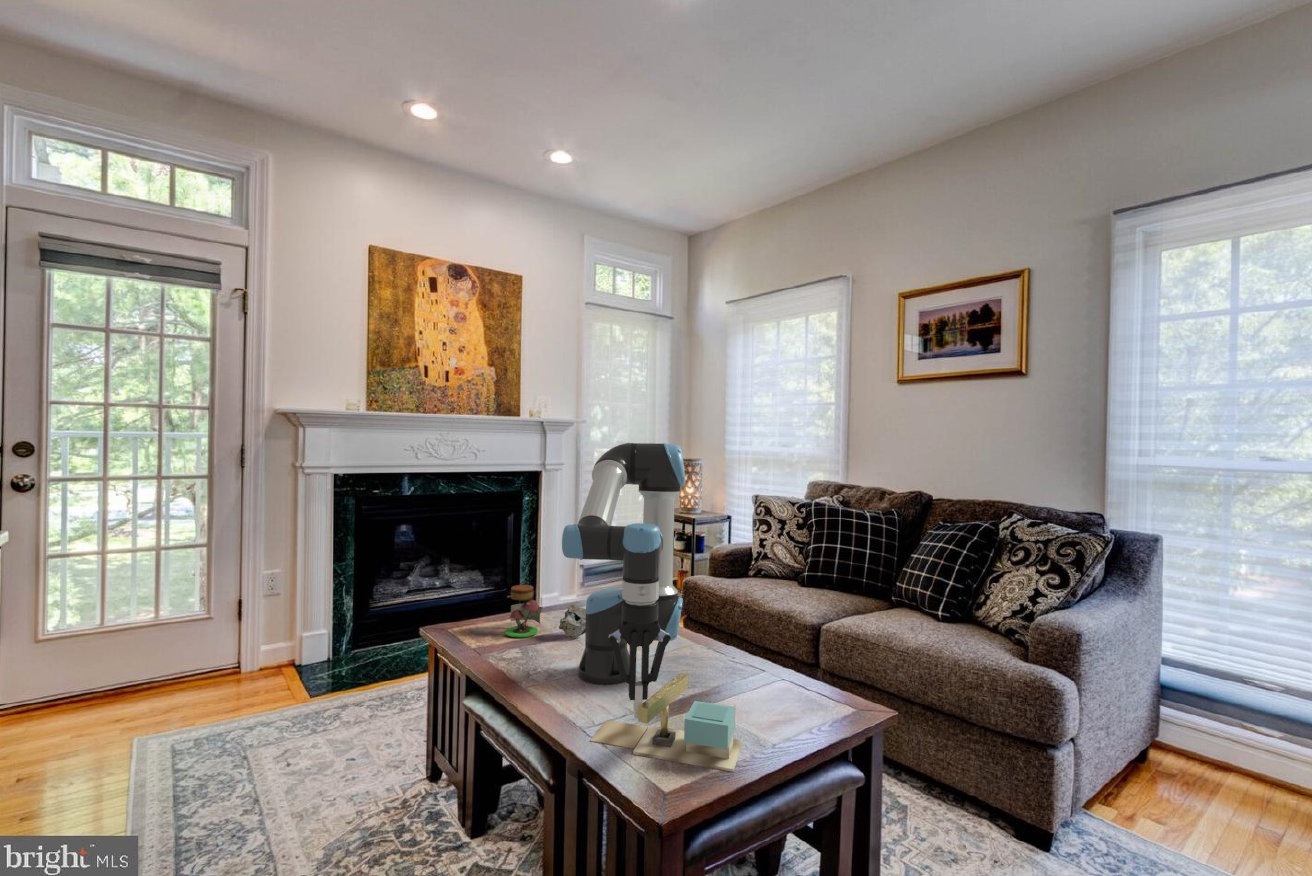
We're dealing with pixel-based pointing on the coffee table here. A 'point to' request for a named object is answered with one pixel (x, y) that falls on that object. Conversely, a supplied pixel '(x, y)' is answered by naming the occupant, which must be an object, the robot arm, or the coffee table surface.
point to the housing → (687, 750)
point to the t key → (663, 702)
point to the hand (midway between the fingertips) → (637, 714)
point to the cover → (709, 725)
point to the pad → (619, 734)
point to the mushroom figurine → (523, 612)
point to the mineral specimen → (574, 621)
